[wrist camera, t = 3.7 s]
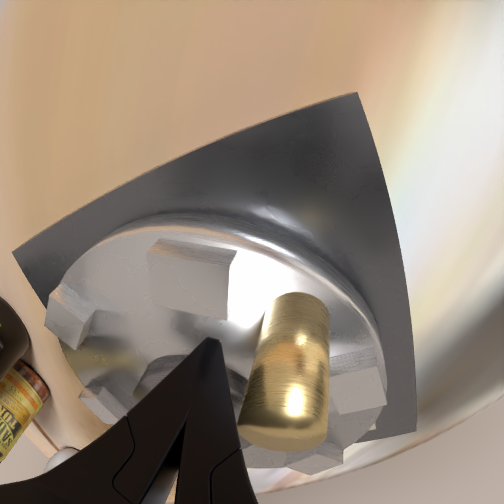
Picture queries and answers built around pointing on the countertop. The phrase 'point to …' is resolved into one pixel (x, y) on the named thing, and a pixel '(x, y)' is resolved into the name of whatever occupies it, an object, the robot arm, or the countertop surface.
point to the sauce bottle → (19, 404)
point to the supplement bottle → (11, 339)
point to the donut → (59, 458)
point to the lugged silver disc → (226, 332)
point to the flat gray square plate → (274, 218)
